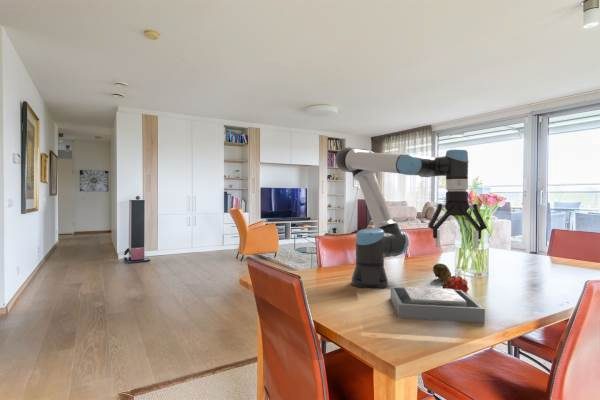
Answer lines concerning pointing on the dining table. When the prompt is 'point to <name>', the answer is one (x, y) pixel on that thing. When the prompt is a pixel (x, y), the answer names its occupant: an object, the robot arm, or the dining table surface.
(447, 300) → the metal tin
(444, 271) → the avocado
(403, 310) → the tray
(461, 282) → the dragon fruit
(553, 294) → the dining table surface
